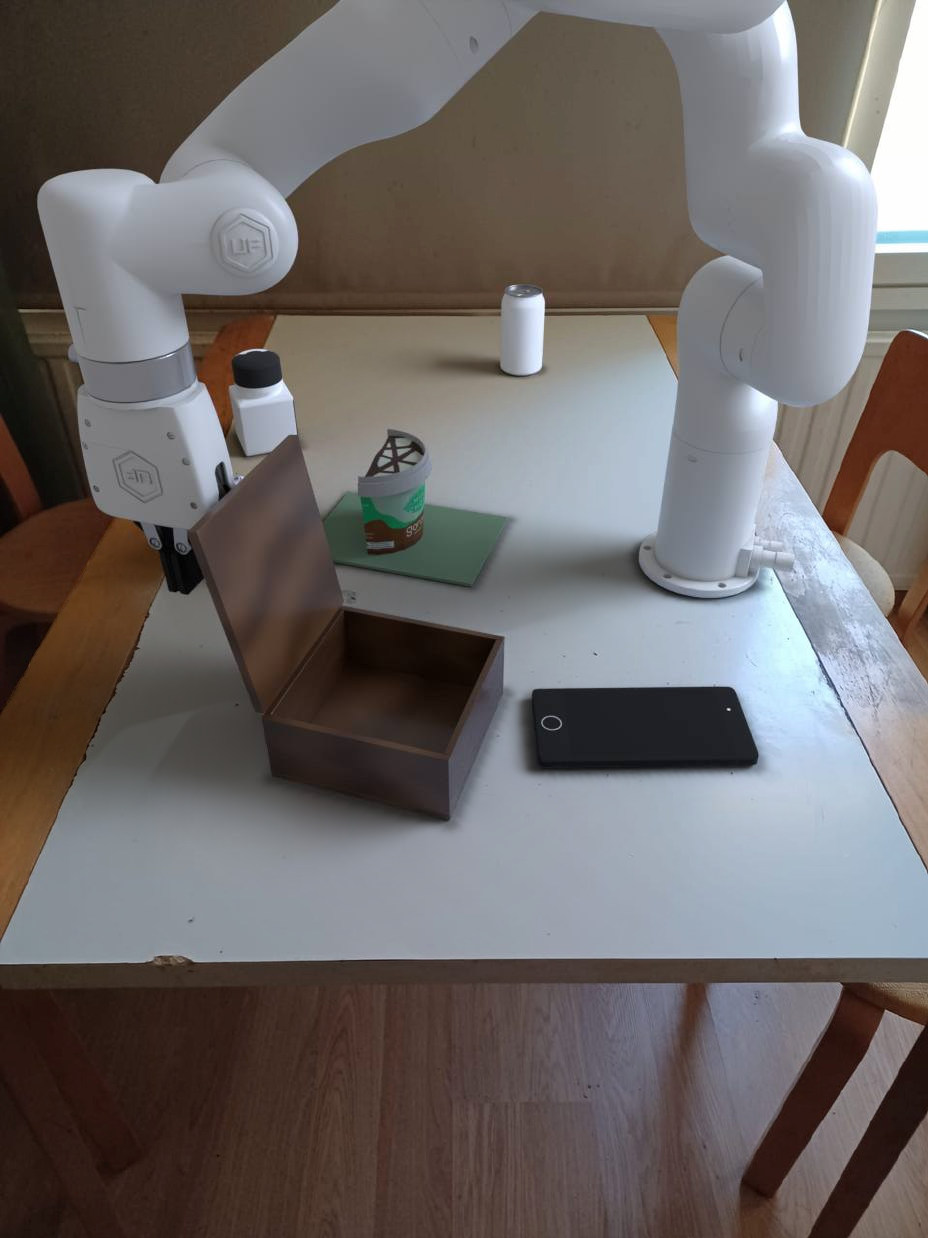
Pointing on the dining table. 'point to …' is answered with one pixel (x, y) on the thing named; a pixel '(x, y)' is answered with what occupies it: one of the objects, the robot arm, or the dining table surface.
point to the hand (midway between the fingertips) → (188, 583)
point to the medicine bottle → (261, 402)
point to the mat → (418, 543)
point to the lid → (269, 570)
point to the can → (522, 330)
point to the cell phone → (641, 727)
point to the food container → (395, 494)
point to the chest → (387, 710)
